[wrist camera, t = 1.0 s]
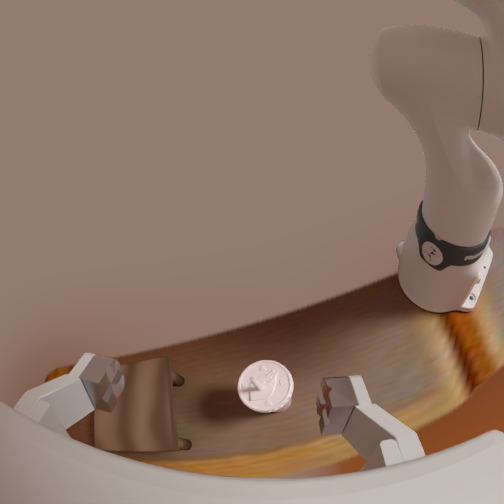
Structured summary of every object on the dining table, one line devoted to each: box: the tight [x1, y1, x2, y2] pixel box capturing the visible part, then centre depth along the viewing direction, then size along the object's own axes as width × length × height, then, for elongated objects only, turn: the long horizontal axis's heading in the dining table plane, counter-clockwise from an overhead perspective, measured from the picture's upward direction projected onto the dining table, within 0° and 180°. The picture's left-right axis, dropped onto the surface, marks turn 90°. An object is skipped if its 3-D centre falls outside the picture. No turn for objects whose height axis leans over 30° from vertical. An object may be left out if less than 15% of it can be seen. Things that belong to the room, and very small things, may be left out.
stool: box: [94, 357, 192, 452], centre depth 36 cm, size 14×14×7 cm
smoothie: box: [238, 360, 293, 413], centre depth 31 cm, size 6×6×14 cm
